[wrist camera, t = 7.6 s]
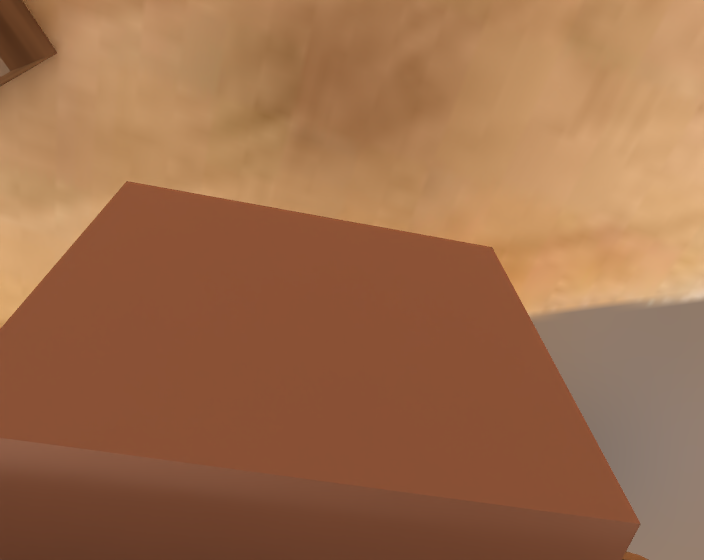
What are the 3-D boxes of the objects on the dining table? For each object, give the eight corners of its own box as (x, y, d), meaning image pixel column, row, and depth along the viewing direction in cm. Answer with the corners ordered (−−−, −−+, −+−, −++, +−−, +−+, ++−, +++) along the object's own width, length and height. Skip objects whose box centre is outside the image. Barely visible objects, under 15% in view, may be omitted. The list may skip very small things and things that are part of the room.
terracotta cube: (491, 247, 11) (640, 523, 6) (406, 509, 14) (456, 867, 8) (126, 181, 11) (-84, 426, 5) (109, 470, 13) (-44, 834, 8)
